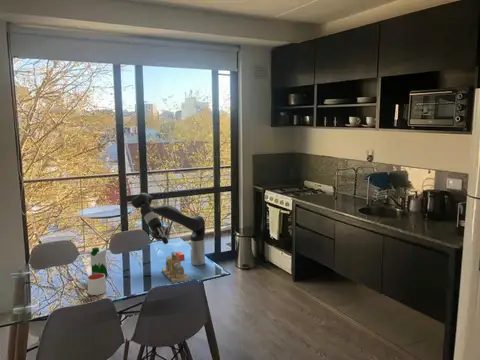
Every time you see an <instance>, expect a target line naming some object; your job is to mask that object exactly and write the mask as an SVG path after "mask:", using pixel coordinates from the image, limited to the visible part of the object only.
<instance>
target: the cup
mask: <svg viewBox="0 0 480 360" xmlns="http://www.w3.org/2000/svg"><path fill="white" fill-rule="evenodd" d="M86 279H87V280H86V282H87V290H88V291H87V292H88V294H89V295H90V296H93V295H96V296H101V295H103V294H105V293H106V291H107V281H106V280H107V279H106V277H105V275H104V274H100V273H99V274H93V275H92V274H90V275H88V276H87V277H86ZM100 294H101V295H100Z"/></svg>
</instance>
